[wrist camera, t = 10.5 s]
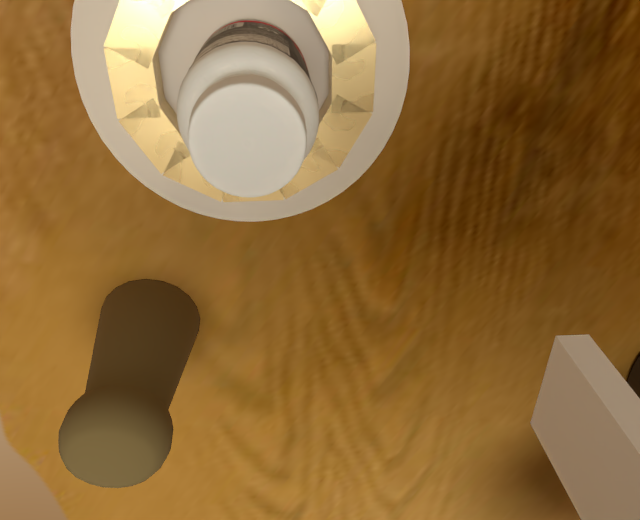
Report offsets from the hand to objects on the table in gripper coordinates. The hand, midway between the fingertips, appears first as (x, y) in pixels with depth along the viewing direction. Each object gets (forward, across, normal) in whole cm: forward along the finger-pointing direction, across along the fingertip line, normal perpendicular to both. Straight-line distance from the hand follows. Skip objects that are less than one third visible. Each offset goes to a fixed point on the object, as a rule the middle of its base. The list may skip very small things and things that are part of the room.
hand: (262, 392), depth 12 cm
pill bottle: (+19, +1, -3) cm, 19 cm away
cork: (+20, +8, +12) cm, 24 cm away
